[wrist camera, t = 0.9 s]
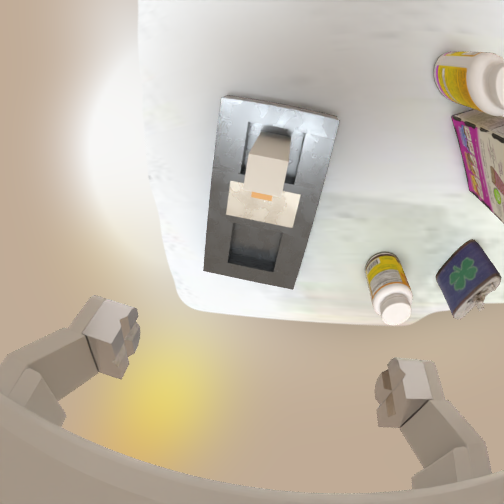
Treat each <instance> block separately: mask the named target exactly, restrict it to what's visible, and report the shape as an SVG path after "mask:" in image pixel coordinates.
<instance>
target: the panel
mask: <svg viewBox="0 0 504 504" xmlns="http://www.w3.org/2000/svg"><path fill="white" fill-rule="evenodd" d="M339 121H340V120H339V119H338V118H337V116H334V115H330V114H325V113H321V112H317V111H313V110H308V109H304V108H299V107H294V106H289V105H284V104H279V103H274V102H268V101H263V100H257V99H250V98H244V97H237V96H230V95H227V96H224V97H222V98H221V105H220V113H219V121H218V128H217V137H216V145H215V153H214V162H213V171H212V181H211V190H210V200H209V211H208V221H207V233H206V244H205V257H204V270H203V271H206V272H211V273H216V274H220V275H225V276H230V277H234V278H239V279H244V280H249V281H254V282H258V283H263V284H268V285H273V286H278V287H283V288H288V289H293V288H294V285H295V281H296V278H297V275H298V272H299V268H300V265H301V262H302V258H303V255H304V252H305V248H306V245H307V241H308V238H309V235H310V231H311V228H312V224H313V221H314V217H315V213H316V210H317V206H318V203H319V199H320V195H321V192H322V188H323V184H324V180H325V177H326V173H327V169H328V165H329V161H330V157H331V154H332V150H333V146H334V142H335V138H336V134H337V129H338V125H339ZM261 131H263V132H268V133H273V134H278V135H283V136H288V137H291V145H290V154H289V163H288V167H287V172H286V177H285V181H284V186H283V191H282V195H281V197H276V196H272V201H268V200H263V199H258V198H253V197H251V193H252V192H251V191H246V190H243V187H244V180H245V174H246V167H247V161H248V155H249V152H250V150H251V149H252V147H253V145H254V143H255V141H256V140H257V138H258V136H259V134H260V132H261Z"/></svg>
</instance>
